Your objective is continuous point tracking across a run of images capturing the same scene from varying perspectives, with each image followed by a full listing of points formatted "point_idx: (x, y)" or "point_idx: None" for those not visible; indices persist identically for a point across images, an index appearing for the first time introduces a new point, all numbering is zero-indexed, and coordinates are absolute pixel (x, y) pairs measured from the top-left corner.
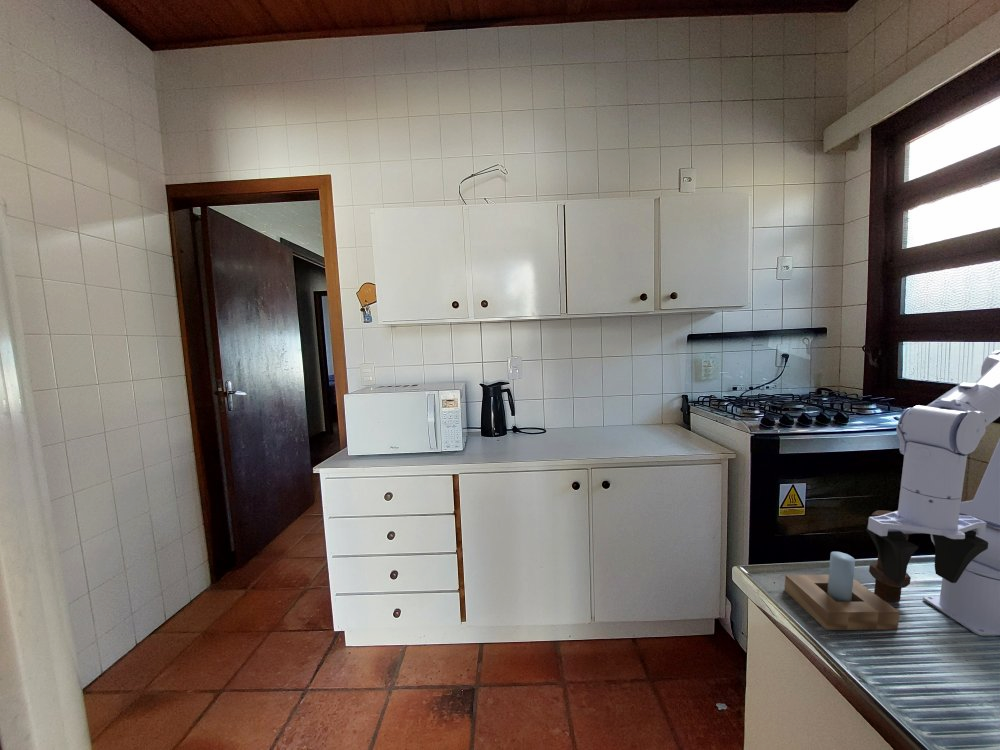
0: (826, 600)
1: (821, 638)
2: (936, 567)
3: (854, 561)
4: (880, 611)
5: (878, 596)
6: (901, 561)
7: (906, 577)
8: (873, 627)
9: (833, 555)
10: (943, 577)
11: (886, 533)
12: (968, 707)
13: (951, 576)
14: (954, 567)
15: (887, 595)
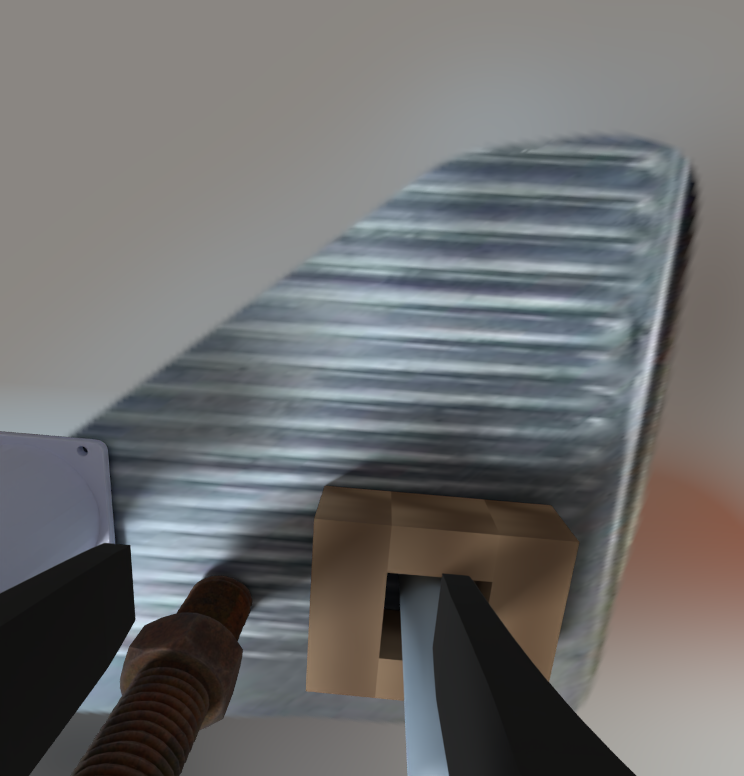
0: (522, 591)
1: (600, 477)
2: (106, 658)
3: (437, 755)
4: (381, 526)
5: (249, 602)
6: (586, 738)
7: (152, 647)
8: (400, 495)
9: None
10: (130, 588)
11: None
12: (425, 226)
13: (103, 577)
14: (37, 630)
15: (235, 598)
